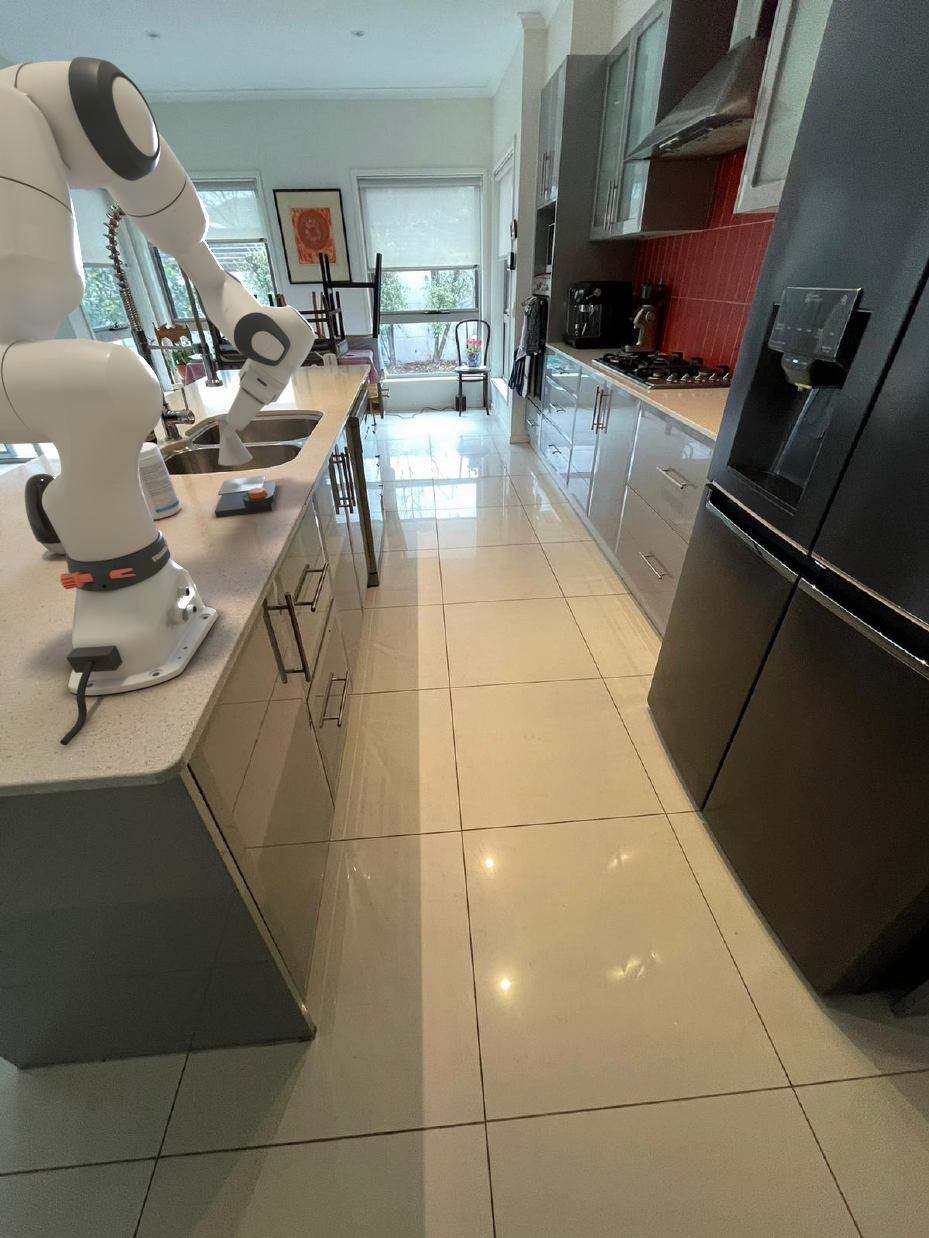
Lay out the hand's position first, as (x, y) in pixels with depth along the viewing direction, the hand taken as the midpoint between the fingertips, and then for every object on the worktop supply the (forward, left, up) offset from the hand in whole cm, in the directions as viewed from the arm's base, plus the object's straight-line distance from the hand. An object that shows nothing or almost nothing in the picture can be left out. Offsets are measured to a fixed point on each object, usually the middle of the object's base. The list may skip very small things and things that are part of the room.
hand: (227, 432), depth 115 cm
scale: (-2, -1, -15) cm, 15 cm away
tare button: (-8, -4, -13) cm, 15 cm away
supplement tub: (-3, +19, -15) cm, 24 cm away
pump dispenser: (-18, +31, -15) cm, 39 cm away
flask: (0, 0, -7) cm, 7 cm away
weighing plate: (0, 0, -12) cm, 12 cm away
